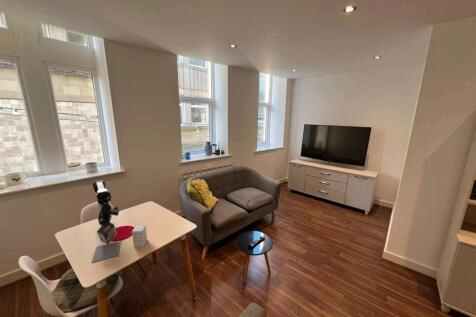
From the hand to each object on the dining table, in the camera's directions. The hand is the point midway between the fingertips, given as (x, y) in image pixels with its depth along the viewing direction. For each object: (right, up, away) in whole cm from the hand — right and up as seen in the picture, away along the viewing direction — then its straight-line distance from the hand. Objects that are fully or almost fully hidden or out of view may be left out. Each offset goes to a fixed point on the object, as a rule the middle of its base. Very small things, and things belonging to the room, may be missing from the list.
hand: (108, 226), depth 144 cm
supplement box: (+24, -13, +1) cm, 27 cm away
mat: (+5, -14, -8) cm, 17 cm away
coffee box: (0, -9, +2) cm, 9 cm away
